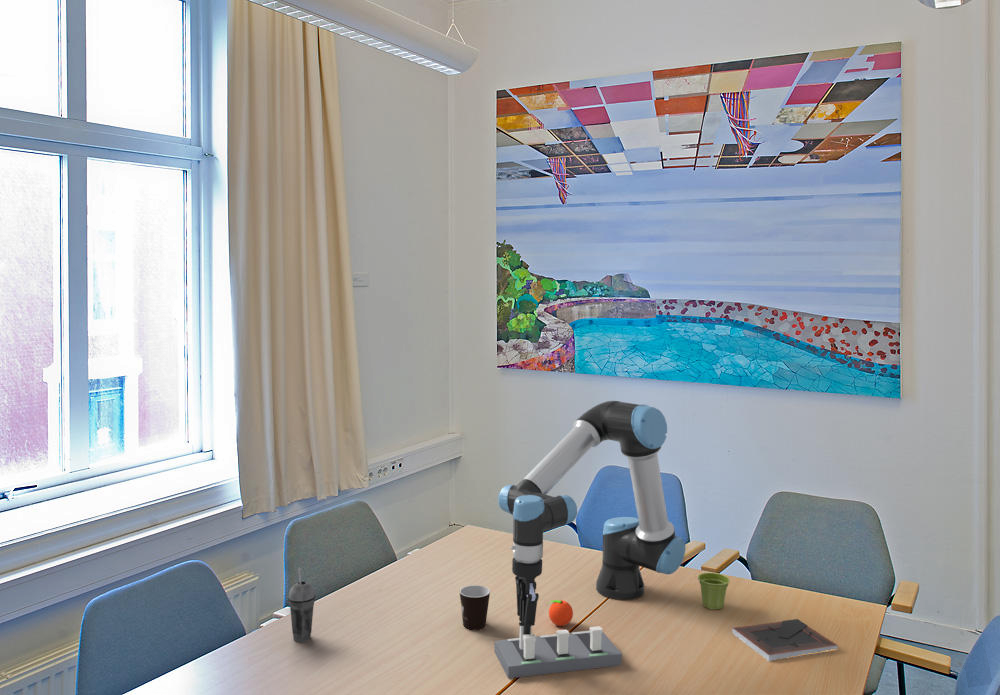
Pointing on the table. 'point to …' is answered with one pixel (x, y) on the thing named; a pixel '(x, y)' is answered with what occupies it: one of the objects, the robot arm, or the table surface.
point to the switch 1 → (529, 646)
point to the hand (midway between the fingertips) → (525, 647)
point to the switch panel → (556, 655)
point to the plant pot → (713, 589)
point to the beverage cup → (301, 609)
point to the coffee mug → (474, 606)
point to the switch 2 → (595, 638)
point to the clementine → (560, 612)
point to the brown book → (783, 639)
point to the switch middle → (562, 641)
